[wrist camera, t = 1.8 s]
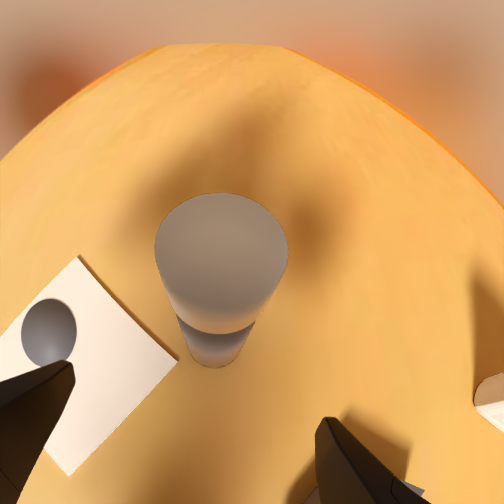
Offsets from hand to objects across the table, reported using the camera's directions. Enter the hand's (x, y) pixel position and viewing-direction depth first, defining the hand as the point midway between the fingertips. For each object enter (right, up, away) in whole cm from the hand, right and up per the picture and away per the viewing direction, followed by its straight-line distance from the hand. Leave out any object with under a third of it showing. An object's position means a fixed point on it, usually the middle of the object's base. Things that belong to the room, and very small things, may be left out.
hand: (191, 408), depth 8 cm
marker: (-1, -2, +13) cm, 13 cm away
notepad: (-13, -4, +9) cm, 16 cm away
